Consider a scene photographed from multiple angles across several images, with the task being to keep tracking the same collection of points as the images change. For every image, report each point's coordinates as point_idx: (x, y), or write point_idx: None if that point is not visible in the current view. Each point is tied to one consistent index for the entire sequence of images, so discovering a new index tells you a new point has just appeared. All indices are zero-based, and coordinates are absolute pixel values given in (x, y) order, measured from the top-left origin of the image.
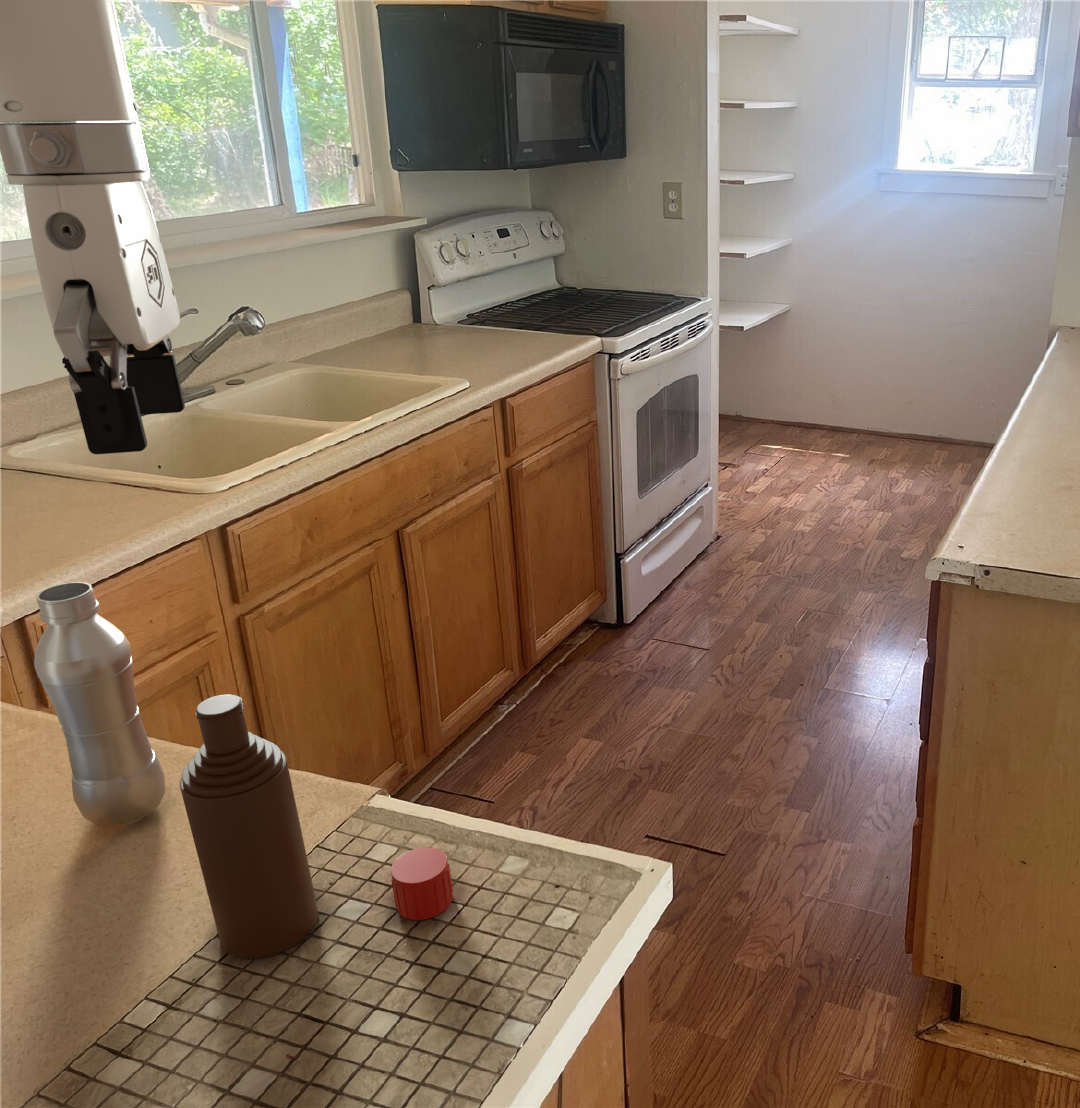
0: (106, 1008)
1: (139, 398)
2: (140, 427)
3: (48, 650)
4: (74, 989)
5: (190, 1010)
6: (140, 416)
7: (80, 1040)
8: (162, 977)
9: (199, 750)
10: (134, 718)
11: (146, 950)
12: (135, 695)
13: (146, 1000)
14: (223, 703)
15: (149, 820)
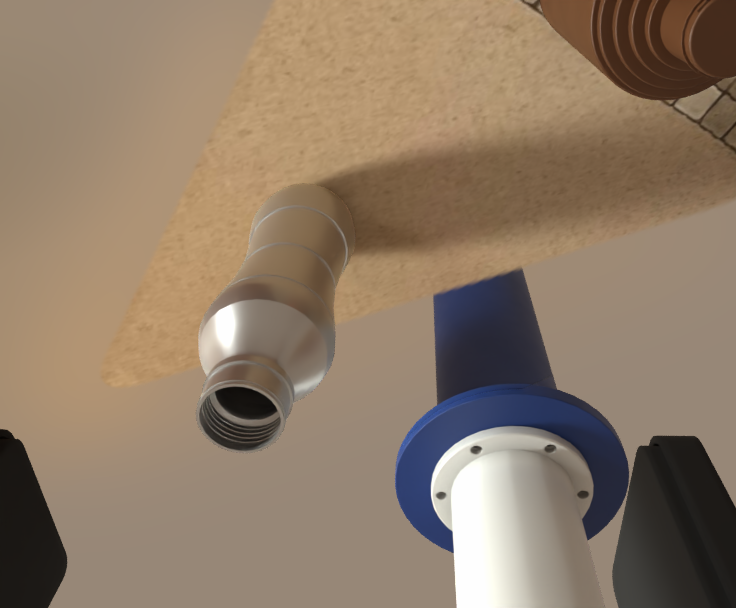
0: (671, 142)
1: (32, 603)
2: (732, 509)
3: (308, 388)
4: (625, 184)
5: None
6: (720, 549)
7: (709, 154)
8: None
9: (668, 75)
10: (293, 243)
11: (589, 126)
12: (267, 253)
13: (676, 103)
14: (734, 24)
15: None
